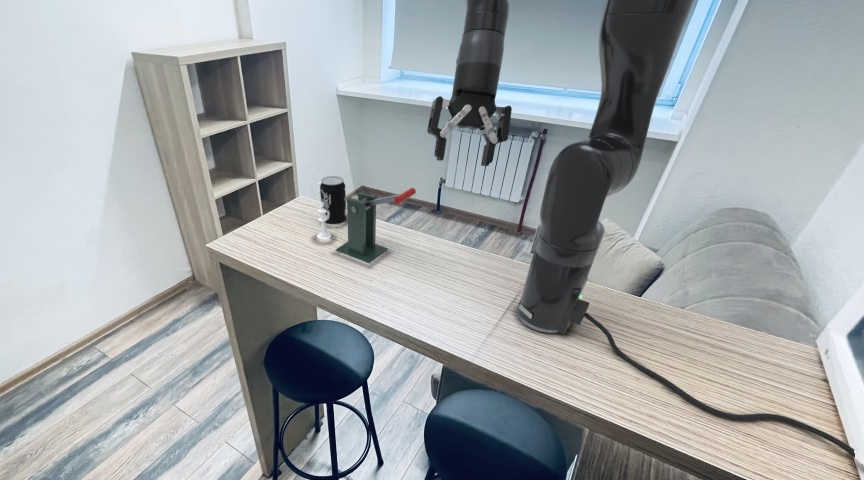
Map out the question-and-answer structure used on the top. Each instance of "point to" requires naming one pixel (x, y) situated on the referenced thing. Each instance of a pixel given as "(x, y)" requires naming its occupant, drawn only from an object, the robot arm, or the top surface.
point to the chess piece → (323, 223)
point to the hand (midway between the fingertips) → (462, 163)
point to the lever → (389, 198)
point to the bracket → (361, 230)
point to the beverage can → (333, 199)
